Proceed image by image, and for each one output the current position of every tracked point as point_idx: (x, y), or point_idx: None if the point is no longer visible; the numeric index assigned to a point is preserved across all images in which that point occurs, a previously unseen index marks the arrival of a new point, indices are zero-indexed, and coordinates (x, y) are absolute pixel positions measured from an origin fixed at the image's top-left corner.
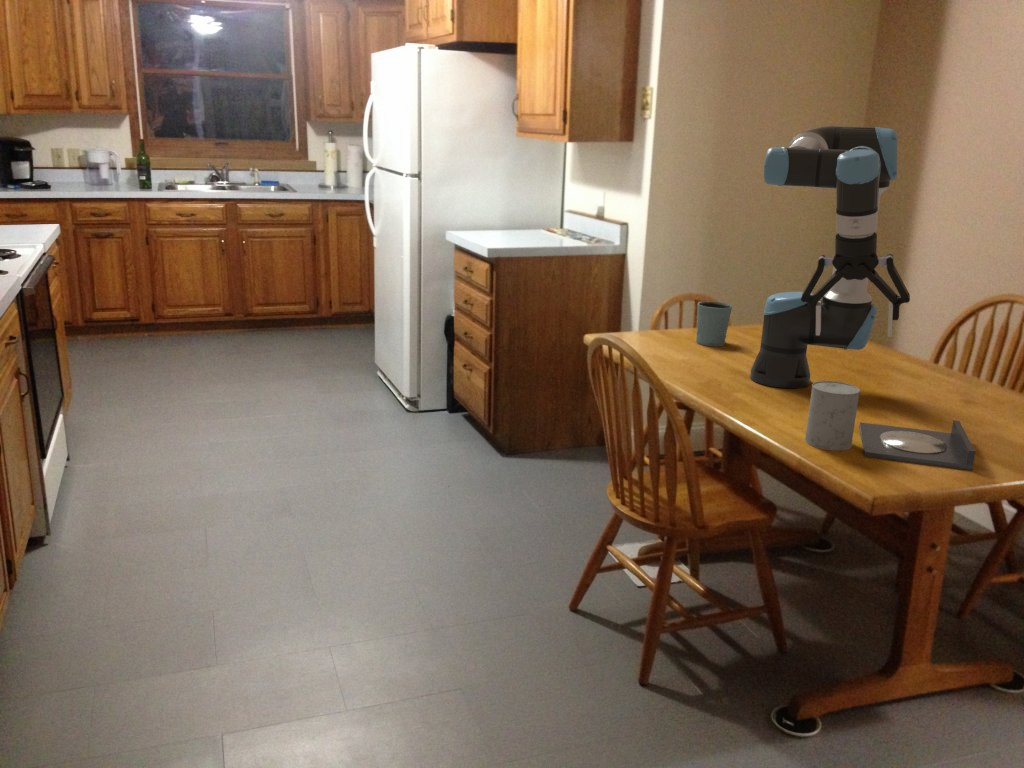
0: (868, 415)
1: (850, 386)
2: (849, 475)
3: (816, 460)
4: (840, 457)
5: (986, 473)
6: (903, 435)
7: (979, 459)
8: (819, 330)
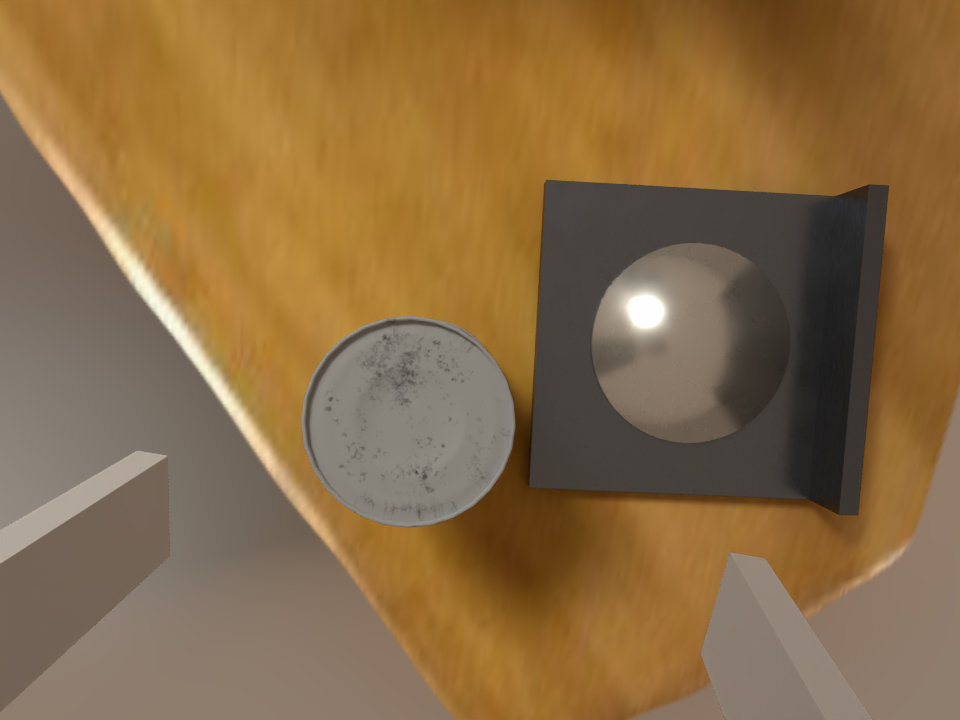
0: (592, 36)
1: (480, 360)
2: (467, 652)
3: (383, 564)
4: None
5: None
6: (671, 293)
7: None
8: (136, 586)
